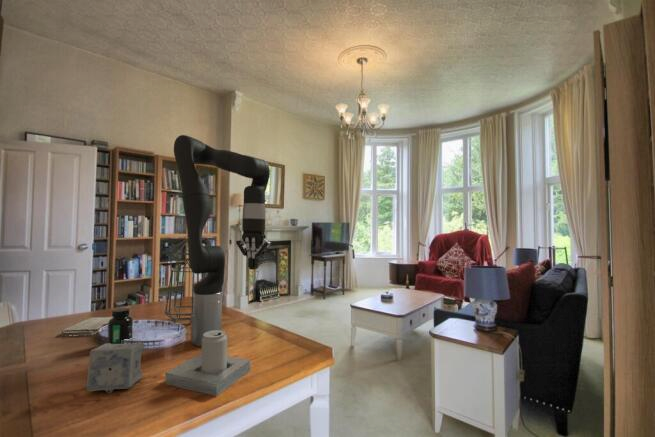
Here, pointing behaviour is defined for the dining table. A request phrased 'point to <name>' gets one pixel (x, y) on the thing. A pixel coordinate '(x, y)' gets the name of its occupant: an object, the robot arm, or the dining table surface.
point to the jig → (207, 375)
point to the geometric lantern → (178, 280)
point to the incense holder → (114, 366)
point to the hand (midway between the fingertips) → (252, 269)
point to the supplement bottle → (120, 326)
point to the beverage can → (214, 352)
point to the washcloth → (86, 327)
